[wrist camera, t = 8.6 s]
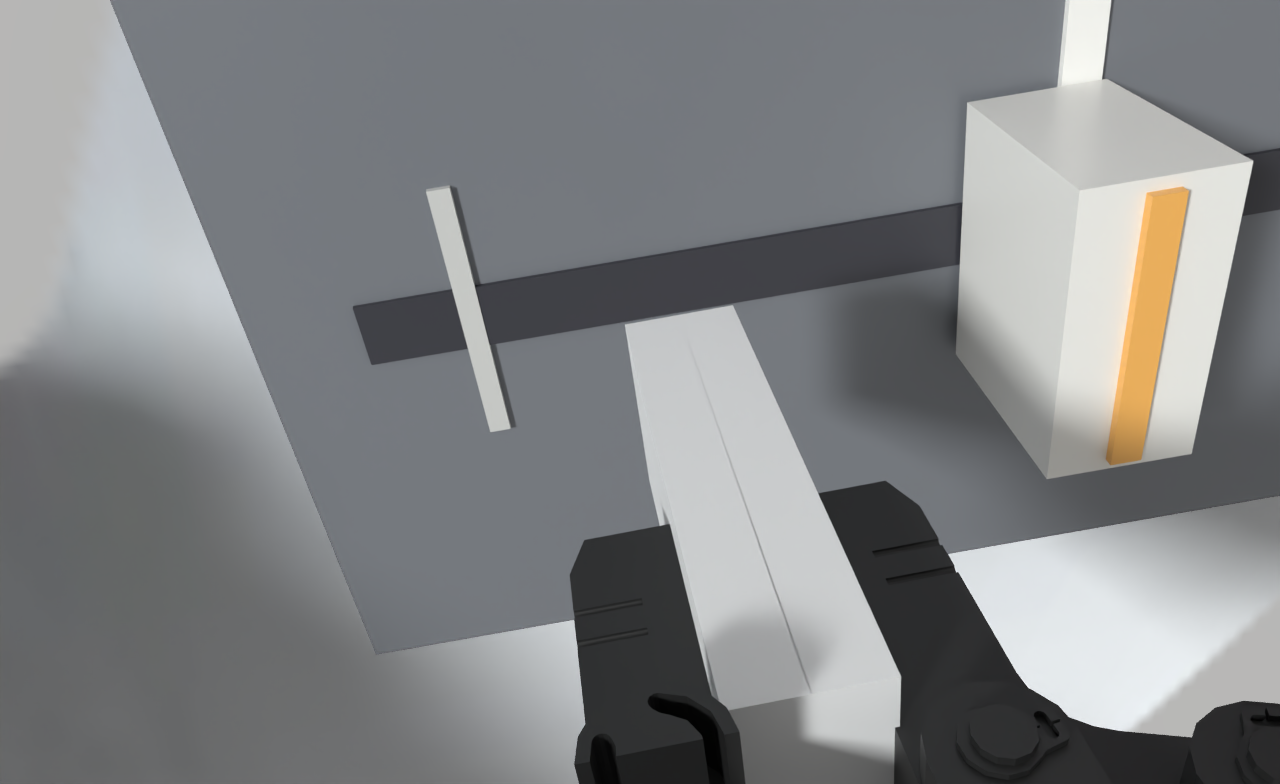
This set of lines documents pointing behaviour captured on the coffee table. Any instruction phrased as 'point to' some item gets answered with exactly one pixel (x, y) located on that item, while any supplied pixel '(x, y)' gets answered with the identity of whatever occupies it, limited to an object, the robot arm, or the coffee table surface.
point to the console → (660, 255)
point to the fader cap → (1094, 271)
